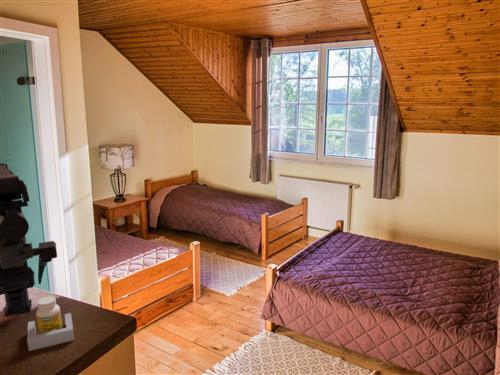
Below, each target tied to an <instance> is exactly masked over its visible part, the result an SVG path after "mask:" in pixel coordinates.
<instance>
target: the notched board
mask: <svg viewBox="0 0 500 375" xmlns="http://www.w3.org/2000/svg"><path fill="white" fill-rule="evenodd" d="M72 319H73V318H72V313H71V312H69V313H68V312H67V313H65V314H64V321H65V327H62V328H63V329H58V330H54V331H50V332H45V333H41V334H39V333H37V330H36V329H37V328H36V322H35V320H32V321H28V322H27V335H26V336H27V338H26V341H27V342H26V343H27V346H28V347H27V348H28V352H31V351H35V350H40V349H43V348H48V347H52V346H56V345H59V344H64V343H69V342H72V341H75V334H74V327H73V326H74V325H73V320H72Z"/></svg>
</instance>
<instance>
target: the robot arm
mask: <svg viewBox="0 0 500 375" xmlns="http://www.w3.org/2000/svg"><path fill="white" fill-rule="evenodd" d="M24 182H25V181H24V180H23V179H20V177H19V176H18V175H17V174H14V172H13V170H10V169H9V166H8V164H7V163H4V162H0V296H2V295H4V302H5V307H4V315H3V316H5V317H7V316H12V315H17V314H22V313H26V312H27V313H28V312H31V311H32V299H29V298H30V297H29V291H28V289H33V288H34V286H35V285H36V281H35V271H34V270H33V269H32V268H31V266H29V265H28V260H29V259H33V258H34V257H36V256H38V269H37V270H38V273H37V280H38V285H41V283H42V280H43V274H44V271H45V268H46V265H47V264H48V263H50V262H52V261H53V259H56V258H58V251H57V244H56V242H55V241H54V240H52V241H46V242H45V241H43V242H38V247H33V245H32V242H30V243H29V242H28V243H27V238H26V237H27V236H26V235H27V234H28V232H29V229H30V226H29V222H28V221H27V219H26V217H25V215H24V214H23V209H22V208H24V207H28V206H29V203H28V202H30V196H29V192H28V188H27V184H26V183H24Z"/></svg>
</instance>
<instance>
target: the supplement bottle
mask: <svg viewBox="0 0 500 375" xmlns="http://www.w3.org/2000/svg"><path fill="white" fill-rule="evenodd" d="M37 307H38V308H37V310H36V312H35V316H36V321H37V329H38V334H41V333H45V332H50V331H54V330H58V329H63V328H64V327H63V323H62V322H63V321H62V315H61V314H62V313H61V307H60V305H59V304H57V301H56V297H54V296H44V297H42V298H40V299H39V300H38V301H37Z"/></svg>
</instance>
